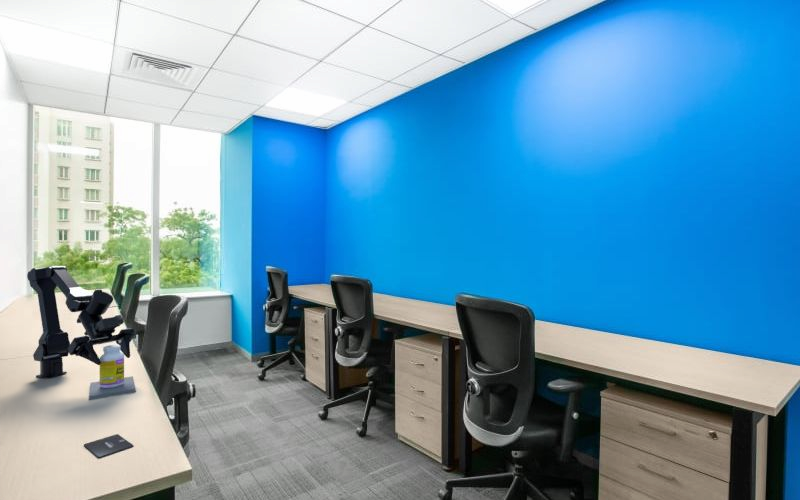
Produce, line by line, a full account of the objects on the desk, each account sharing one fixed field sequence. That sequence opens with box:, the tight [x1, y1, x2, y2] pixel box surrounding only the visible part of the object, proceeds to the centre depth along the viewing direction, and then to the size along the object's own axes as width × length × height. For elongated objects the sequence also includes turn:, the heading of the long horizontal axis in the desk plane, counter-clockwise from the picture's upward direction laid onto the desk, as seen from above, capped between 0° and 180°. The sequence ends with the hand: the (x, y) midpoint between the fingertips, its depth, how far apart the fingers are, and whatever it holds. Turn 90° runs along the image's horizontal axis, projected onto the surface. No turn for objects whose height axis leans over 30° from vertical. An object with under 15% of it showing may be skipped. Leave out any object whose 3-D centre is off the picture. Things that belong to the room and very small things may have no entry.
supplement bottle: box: [99, 344, 125, 388], centre depth 137 cm, size 7×7×13 cm
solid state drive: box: [83, 433, 134, 459], centre depth 97 cm, size 7×10×1 cm
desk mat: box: [88, 375, 137, 401], centre depth 137 cm, size 16×12×1 cm
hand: (114, 360), depth 136 cm, fingers open, 9 cm apart
